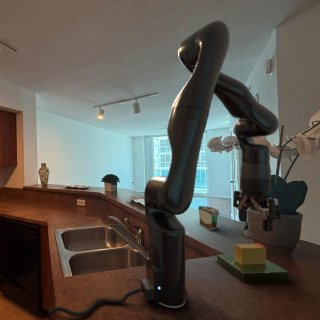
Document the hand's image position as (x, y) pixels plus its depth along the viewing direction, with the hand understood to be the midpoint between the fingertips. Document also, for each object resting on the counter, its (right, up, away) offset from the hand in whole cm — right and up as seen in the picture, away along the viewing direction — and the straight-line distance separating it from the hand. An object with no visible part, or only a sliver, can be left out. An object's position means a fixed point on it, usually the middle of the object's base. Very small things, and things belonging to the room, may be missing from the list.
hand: (254, 225), depth 63 cm
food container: (+12, -15, +39) cm, 44 cm away
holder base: (-1, -15, +1) cm, 16 cm away
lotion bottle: (+24, -15, +28) cm, 39 cm away
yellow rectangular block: (-1, -12, +1) cm, 12 cm away
